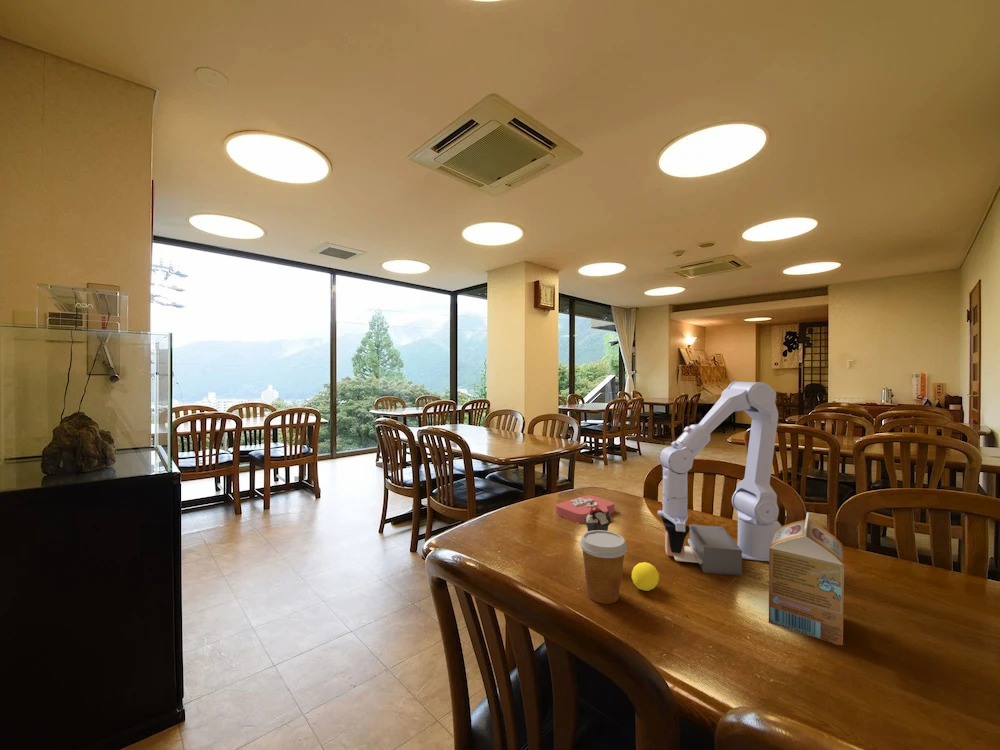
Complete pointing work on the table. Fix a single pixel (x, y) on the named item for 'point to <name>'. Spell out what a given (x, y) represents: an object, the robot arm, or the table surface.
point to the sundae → (597, 520)
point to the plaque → (583, 507)
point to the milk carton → (807, 581)
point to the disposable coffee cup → (603, 564)
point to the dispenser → (715, 550)
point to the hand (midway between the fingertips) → (674, 549)
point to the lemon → (645, 576)
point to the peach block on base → (685, 554)
